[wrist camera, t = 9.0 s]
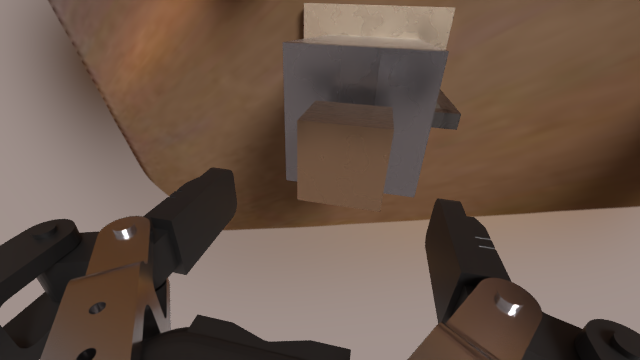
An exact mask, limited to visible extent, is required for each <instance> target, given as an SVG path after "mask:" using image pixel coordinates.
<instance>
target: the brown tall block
mask: <svg viewBox="0 0 640 360" xmlns="http://www.w3.org/2000/svg"><path fill="white" fill-rule="evenodd" d="M393 133H394V123H393V110H392V107H385V106H374V105H362V104H351V103H339V102H328V101H315V102H314V103H313V104H312V105H311V106H310V107H309V108H308V109H307V110H306V111H305V112H304V114H303V115H302V116H301V117H300V118H299V119H298V120H297V200H302V201H309V202H316V203H323V204H329V205H336V206H343V207H350V208H357V209H364V210H371V211H378V212H380V209H381V203H382V197H383V191H384V186H385V180H386V174H387V168H388V162H389V156H390V151H391V145H392V139H393Z"/></svg>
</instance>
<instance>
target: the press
mask: <svg viewBox="0 0 640 360" xmlns="http://www.w3.org/2000/svg"><path fill="white" fill-rule="evenodd" d="M454 11H455V8H448V7H416V6H384V5H352V4H320V3H304V39H300V40H294V41H288V42H283V71H284V111H285V151H286V180H290V181H297V120H298V119H299V118H300V117H301V116H302V115H303V114H304V112H305V111H306V110H307V109H308V108H309V107H310V106H311V105H312V104H313V103H314V102H315V101H328V102H339V103H351V104H362V105H374V106H385V107H392V110H393V123H394V133H393V139H392V145H391V151H390V156H389V162H388V168H387V174H386V180H385V186H384V191H383V193H386V194H394V195H401V196H408V197H414V196H415V192H416V187H417V183H418V179H419V175H420V170H421V166H422V162H423V158H424V154H425V149H426V145H427V141H428V137H429V132H430V128H431V127H434V128H444V129H455V130H457V127H458V123H459V120H460V116H461V114H460V112H459V111H458V110H457V109H456V108H455V106H454V105H453V104H452V103H451V102H450V100H449V99H448V98H447V97H446V96H445V95H444V93H443V92H442V91H441V90H440V86H441V82H442V78H443V73H444V69H445V65H446V61H447V56H448V52H449V51H446V46H447V42H448V37H449V33H450V29H451V24H452V20H453V16H454Z"/></svg>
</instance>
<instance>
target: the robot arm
mask: <svg viewBox="0 0 640 360" xmlns="http://www.w3.org/2000/svg"><path fill="white" fill-rule="evenodd" d="M236 207H237V199H236V192H235V184H234V176H233V173H232V171H231V170H227V169H220V168H210V169H209V170H208V171H207V172H205V173H204V174H203V175H202V176H200V177H198V178H196V179H194V180H191V181H189V182H187V183H185V184H184V185H183V186H181V187H180V188H179V189H178V190H177V191H175V192H174V193H173V194H171V195H170V197H168V198H166V199H165V200H164V201H162V202H161V203H160V204H159V205H157V206H156V207H155V208H153V209H152V210H151V211H150V212H148V213H147V214H146V215H145V216H129V217H125V218H121V219H118V220H115V221H113V222H111V223H109V224H108V225H106V226H105V227H104V228H103V229H101V231H100V232H85V233H79V231H78V229H77V227H76V225H75V223H74V222H73V221H71V220H68V219H57V220H51V221H47V222H43V223H40V224H38V225H36V226H33V227H31V228H29V229H27V230H25V231H24V232H22V233H20V234H19V235H17V236H15V237H14V238H12V239H10V240H9V241H7V242H5V243H4V244H2V245H1V246H0V307H1V306H2V304H3V303H4V302H5V301H7V300H8V299H9V298H10V297H12V296H13V295H14V294H16V293H17V292H18V291H19V290H21V289H22V288H23V287H25V286H26V285H27V284H28V283H30V282H31V281H33V280H34V279H35V278H37V279H38V281H39V282H40V284H41V285H42V287H43V289H44V290H45V292H44V293H43V294H42V295H41V296H40V297H38V298H37V299H36V300H35V301H34V302H32V303H31V304H30V305H29V306H28V307H26V308H25V309H24V310H23V311H22V312H20V313H19V314H18V315H17V316H16V317H15V318H13V319H12V320H11V321H10V322H8V323H7V324H6V325H5V326H4V327H1V325H0V360H39V359H40V360H350V352H351V350H350V349H346V348H341V347H337V346H333V345H328V344H324V343H320V342H315V341H311V340H310V341H281V342H280V341H279V342H268V341H264V340H262V339H261V338H259V337H257V336H255V335H254V334H252V333H250V332H248V331H247V330H244V329H243V328H241V327H240V326H238V325H236V324H234V323H232V322H228V321H223V320H219V319H215V318H210V317H206V316H201V315H197V316H196V318H195V319H194V321H193V322H192V324H191V326H190V327H185V328H178V329H174V330H171V323H170V283H169V279H168V277H169V275H170V274H171V273H172V272H175V273H179V274H184V275H187V273H188V272H189V271H190V270H191V268H192V267H193V266H194V265H195V263H196V262H197V261H198V260H199V258H200V257H201V256H202V255H203V253H204V252H205V251H206V250H207V249H208V247H209V246H210V245H211V244H212V242H213V241H214V240H215V239H216V237H217V236H218V235H219V234H220V232H221V231H222V230H223V229H224V227H225V226H226V225H227V224H228V222H229V221H230V220H231V219H232V217H233V216H234V214H235V212H236ZM425 248H426V253H427V260H428V266H429V272H430V278H431V284H432V289H433V295H434V301H435V307H436V313H437V319H438V325H437V326H436V327H435V328H434V329H433V330H432V331H431V333H430V334H429V335H428V336H427V337H426V338H425V340H424V341H423V342H422V343H421V344H420V345H419V347H418V348H417V349H416V350H415V352H413V354H412V355H411V356H410V357H409V358H408V359H407V360H640V334H638V333H637V332H635V331H633V330H631V329H630V328H628V327H626V326H623V325H621V324H618V323H616V322H613V321H609V320H604V319H594V320H591V321H589V322H588V323H587V325H586V326H585V327H584V328H583V329H581V328H579V327H576V326H574V325H572V324H569V323H567V322H564V321H562V320H559V319H557V318H554V317H552V316H550V315H548V314H545V313H544V312H542V310H541V307H540V306H539V304H538V302H537V301H536V300H535V298H533V296H532V295H531V294H530V293H528V292H527V291H526V290H525V289H523V288H522V287H520V286H518V285H516V284H515V283H512V282H511V280H510V278H509V276H508V274H507V272H506V270H505V268H504V266H503V263H502V261H501V259H500V257H499V255H498V253H497V251H496V250H495V247H494V245H493V243H492V241H491V240H490V236H489V234H488V232H487V230H486V228H485V227H484V226H483V225H482V224H481V223H480V222H479V221H478V220H477V219H475V218H474V217H468V216H466V214H465V212H464V209H463V207H462V204H461V202H459V201H453V200H445V199H437V200H436V202H435V205H434V208H433V212H432V215H431V219H430V222H429V226H428V229H427V233H426V241H425Z"/></svg>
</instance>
